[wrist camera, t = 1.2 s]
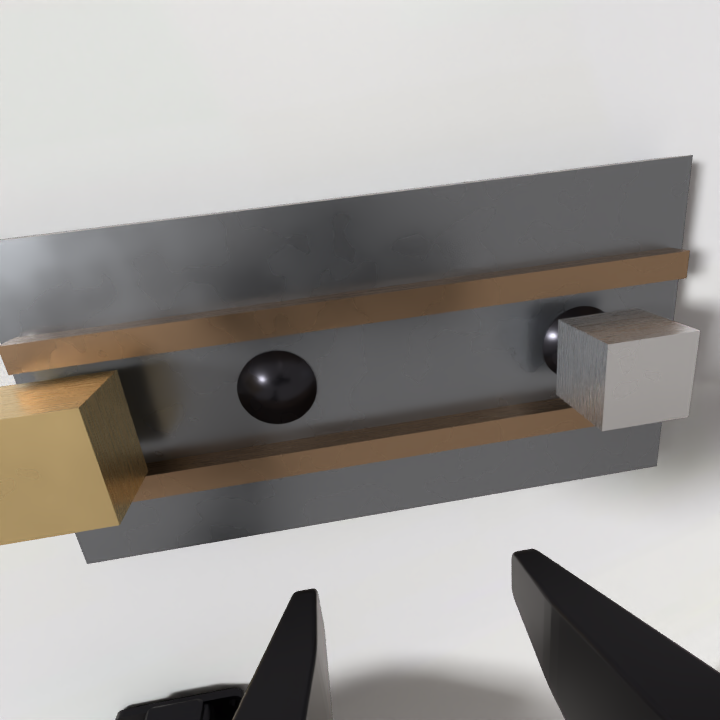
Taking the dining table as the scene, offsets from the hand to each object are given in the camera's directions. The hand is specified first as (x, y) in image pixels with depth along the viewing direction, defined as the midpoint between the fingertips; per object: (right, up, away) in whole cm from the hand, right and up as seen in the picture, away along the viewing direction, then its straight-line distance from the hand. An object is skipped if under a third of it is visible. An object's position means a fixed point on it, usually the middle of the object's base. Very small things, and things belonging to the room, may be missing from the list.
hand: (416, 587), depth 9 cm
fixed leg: (+8, +5, +11) cm, 14 cm away
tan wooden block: (-11, +2, +9) cm, 14 cm away
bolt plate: (-1, +4, +11) cm, 12 cm away
